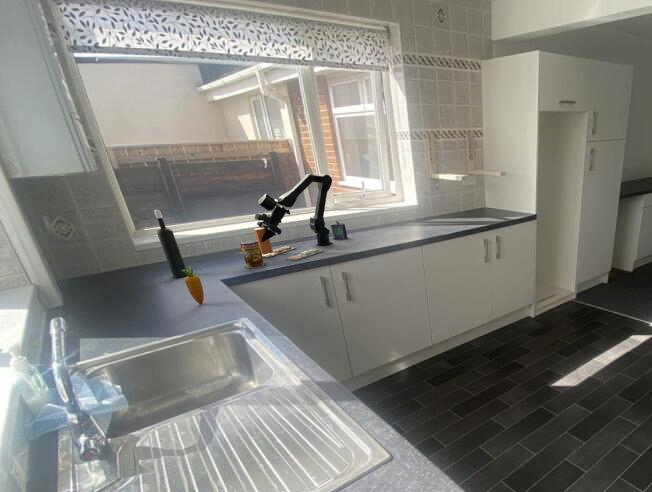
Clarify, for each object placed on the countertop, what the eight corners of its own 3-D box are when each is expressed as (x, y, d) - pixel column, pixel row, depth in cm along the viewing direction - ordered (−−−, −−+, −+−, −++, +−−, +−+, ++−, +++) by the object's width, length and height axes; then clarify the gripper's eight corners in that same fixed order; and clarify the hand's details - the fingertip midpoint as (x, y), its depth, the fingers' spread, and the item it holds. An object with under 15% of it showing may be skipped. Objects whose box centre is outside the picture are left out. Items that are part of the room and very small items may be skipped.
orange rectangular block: (270, 251, 228) (263, 227, 222) (273, 252, 226) (266, 228, 220) (260, 253, 225) (253, 228, 219) (263, 254, 223) (256, 230, 217)
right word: (313, 250, 234) (312, 247, 233) (323, 251, 232) (322, 248, 231) (286, 259, 218) (286, 256, 218) (297, 260, 216) (296, 257, 215)
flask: (332, 239, 259) (328, 221, 254) (334, 238, 262) (331, 220, 257) (346, 239, 258) (343, 221, 253) (348, 238, 261) (345, 220, 256)
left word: (286, 248, 241) (285, 245, 240) (295, 248, 239) (295, 246, 238) (258, 256, 225) (257, 253, 224) (268, 257, 223) (267, 254, 222)
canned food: (249, 268, 204) (241, 244, 199) (245, 265, 210) (237, 241, 205) (266, 265, 209) (259, 241, 204) (262, 262, 214) (255, 238, 209)
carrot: (197, 307, 158) (183, 269, 152) (191, 305, 161) (177, 267, 154) (211, 303, 162) (198, 265, 155) (204, 301, 164) (191, 264, 158)
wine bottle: (186, 276, 195) (162, 210, 182) (172, 278, 193) (146, 211, 180) (189, 273, 200) (166, 208, 187) (175, 275, 198) (150, 209, 185)
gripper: (255, 205, 224) (239, 229, 221) (269, 208, 212) (252, 234, 210) (274, 218, 232) (259, 241, 230) (288, 221, 220) (272, 246, 218)
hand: (260, 241), depth 222 cm, fingers closed on orange rectangular block, 4 cm apart
